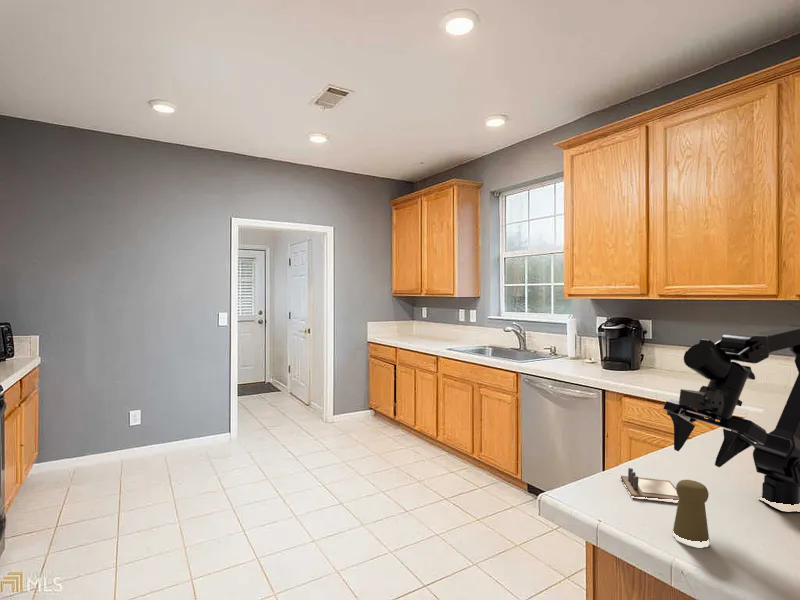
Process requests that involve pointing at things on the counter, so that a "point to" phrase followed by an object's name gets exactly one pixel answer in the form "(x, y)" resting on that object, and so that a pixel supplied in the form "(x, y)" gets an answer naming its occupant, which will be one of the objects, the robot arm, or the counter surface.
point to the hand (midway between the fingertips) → (695, 458)
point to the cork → (691, 511)
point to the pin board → (649, 487)
